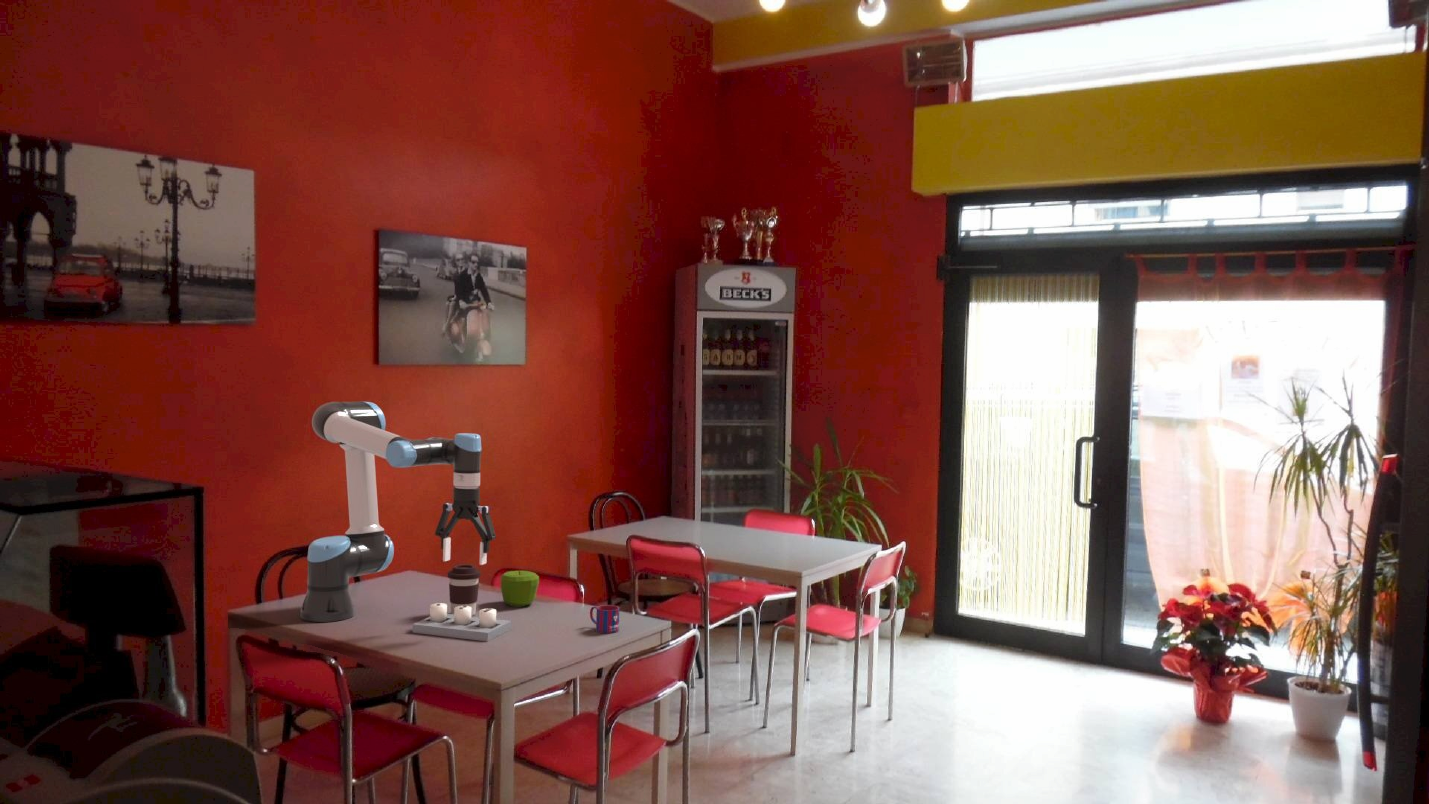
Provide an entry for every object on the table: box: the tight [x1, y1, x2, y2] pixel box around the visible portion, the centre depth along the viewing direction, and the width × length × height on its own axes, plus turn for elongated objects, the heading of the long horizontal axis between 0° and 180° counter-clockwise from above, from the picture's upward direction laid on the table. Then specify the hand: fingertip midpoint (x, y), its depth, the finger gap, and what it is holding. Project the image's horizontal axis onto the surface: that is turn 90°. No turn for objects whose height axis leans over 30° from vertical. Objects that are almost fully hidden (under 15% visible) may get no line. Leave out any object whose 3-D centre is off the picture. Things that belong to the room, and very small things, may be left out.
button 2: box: [454, 606, 472, 625], centre depth 284 cm, size 5×5×5 cm
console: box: [412, 613, 512, 642], centre depth 284 cm, size 24×14×2 cm, turn 74°
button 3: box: [478, 607, 497, 628], centre depth 282 cm, size 5×5×5 cm
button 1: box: [429, 602, 448, 622], centre depth 286 cm, size 5×5×5 cm
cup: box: [589, 604, 620, 634], centre depth 290 cm, size 7×10×7 cm
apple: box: [500, 569, 540, 608], centre depth 317 cm, size 12×12×11 cm
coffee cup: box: [447, 564, 482, 617], centre depth 301 cm, size 10×10×15 cm
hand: (464, 562), depth 283 cm, fingers open, 11 cm apart
